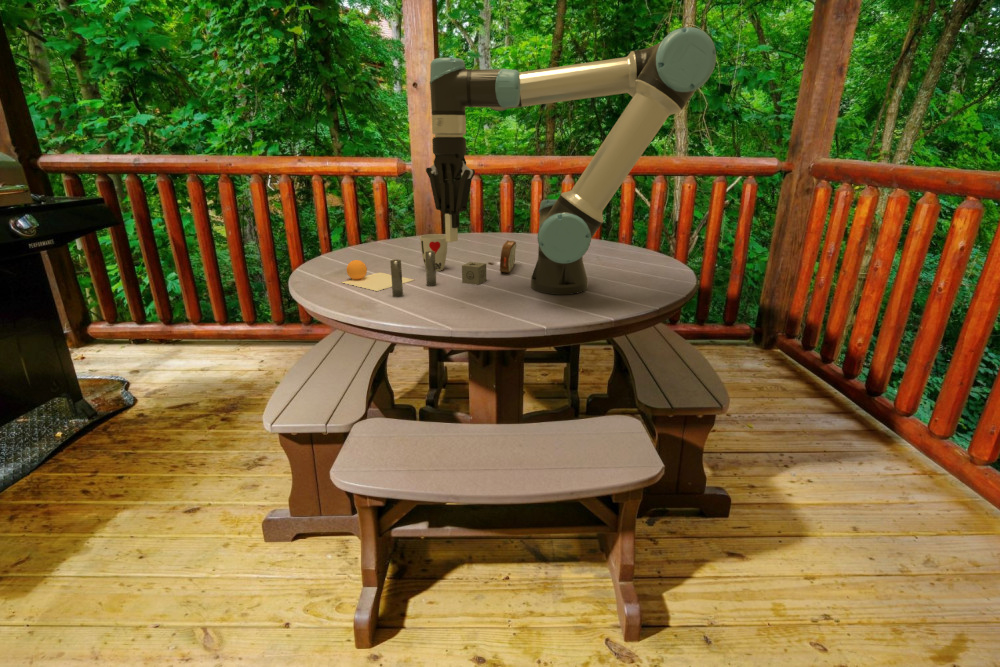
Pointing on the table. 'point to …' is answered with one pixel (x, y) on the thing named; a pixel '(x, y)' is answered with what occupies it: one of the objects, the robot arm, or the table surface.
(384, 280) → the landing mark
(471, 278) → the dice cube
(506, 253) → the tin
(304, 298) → the table surface
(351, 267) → the ball
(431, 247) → the cup
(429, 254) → the right post
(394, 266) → the left post
